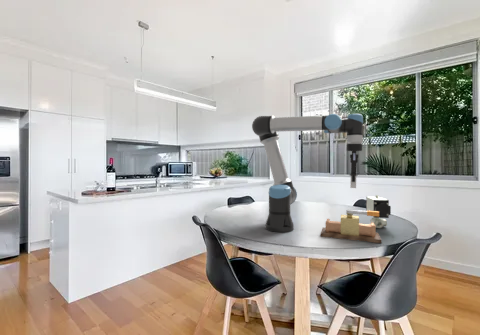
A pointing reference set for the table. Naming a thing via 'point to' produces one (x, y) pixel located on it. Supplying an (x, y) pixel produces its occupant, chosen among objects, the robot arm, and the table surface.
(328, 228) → the valve body
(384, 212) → the ball valve
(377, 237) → the pipe board
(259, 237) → the table surface
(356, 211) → the lever
